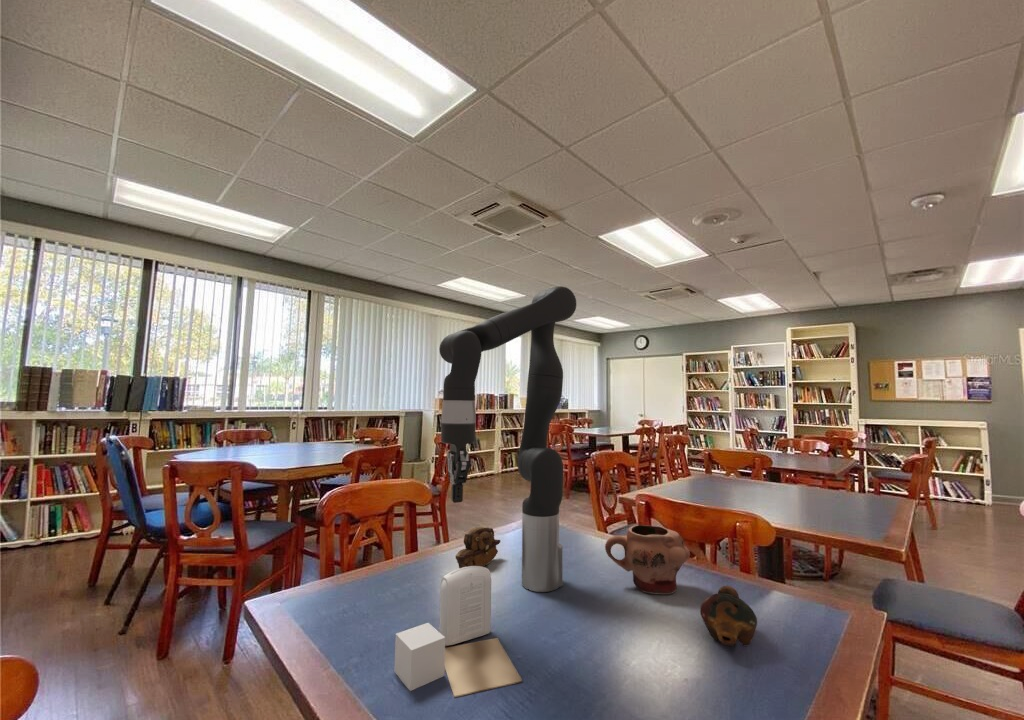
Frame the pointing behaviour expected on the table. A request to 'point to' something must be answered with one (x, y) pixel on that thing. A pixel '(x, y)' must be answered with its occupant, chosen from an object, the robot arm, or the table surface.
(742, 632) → the decorative turtle
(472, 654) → the cork mat
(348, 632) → the table surface
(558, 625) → the table surface
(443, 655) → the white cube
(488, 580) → the photo printer
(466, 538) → the wooden carving
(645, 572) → the sculpted ceramic mug
